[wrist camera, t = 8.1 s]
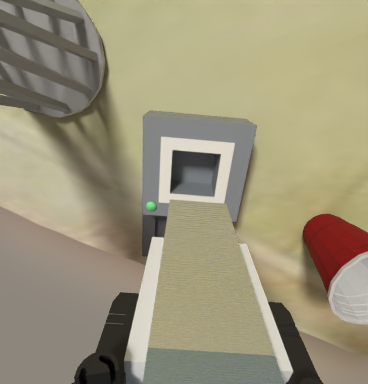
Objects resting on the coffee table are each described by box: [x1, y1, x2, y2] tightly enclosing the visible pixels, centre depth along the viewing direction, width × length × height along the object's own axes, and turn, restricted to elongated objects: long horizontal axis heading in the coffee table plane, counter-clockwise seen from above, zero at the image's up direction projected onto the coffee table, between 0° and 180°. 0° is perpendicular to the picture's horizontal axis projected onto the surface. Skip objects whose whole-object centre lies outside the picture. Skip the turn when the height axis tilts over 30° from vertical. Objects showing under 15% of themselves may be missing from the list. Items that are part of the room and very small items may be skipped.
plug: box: [142, 199, 284, 384], centre depth 10 cm, size 4×4×15 cm
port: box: [142, 111, 257, 222], centre depth 29 cm, size 12×12×5 cm
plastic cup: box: [303, 214, 368, 325], centre depth 30 cm, size 11×11×12 cm
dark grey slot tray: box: [142, 214, 167, 256], centre depth 35 cm, size 9×9×2 cm
